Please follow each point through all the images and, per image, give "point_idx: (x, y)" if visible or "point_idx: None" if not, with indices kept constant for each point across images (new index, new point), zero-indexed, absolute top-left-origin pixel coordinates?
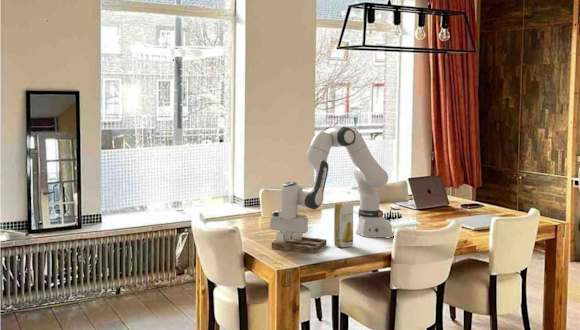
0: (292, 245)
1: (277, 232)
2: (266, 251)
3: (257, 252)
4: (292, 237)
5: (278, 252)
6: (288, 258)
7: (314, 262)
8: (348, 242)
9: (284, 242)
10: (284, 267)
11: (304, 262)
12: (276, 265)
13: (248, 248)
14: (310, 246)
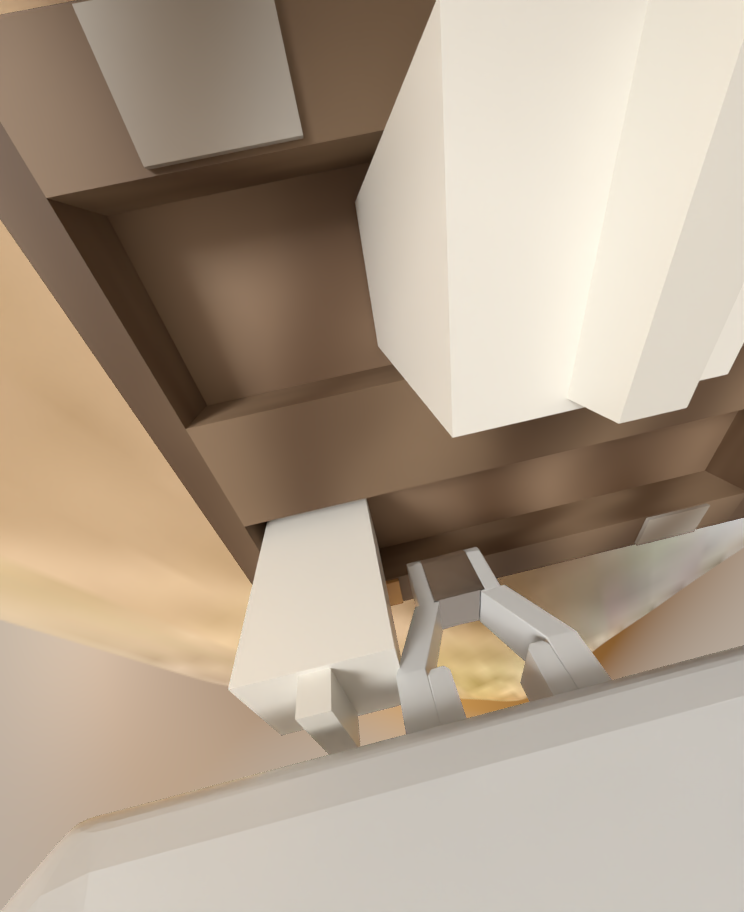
0: (508, 570)
1: (278, 722)
2: None
3: None
4: (395, 363)
5: (406, 604)
6: None
7: (663, 599)
8: None
9: (375, 539)
10: None
11: (610, 622)
12: (494, 692)
13: (162, 661)
14: (700, 520)
